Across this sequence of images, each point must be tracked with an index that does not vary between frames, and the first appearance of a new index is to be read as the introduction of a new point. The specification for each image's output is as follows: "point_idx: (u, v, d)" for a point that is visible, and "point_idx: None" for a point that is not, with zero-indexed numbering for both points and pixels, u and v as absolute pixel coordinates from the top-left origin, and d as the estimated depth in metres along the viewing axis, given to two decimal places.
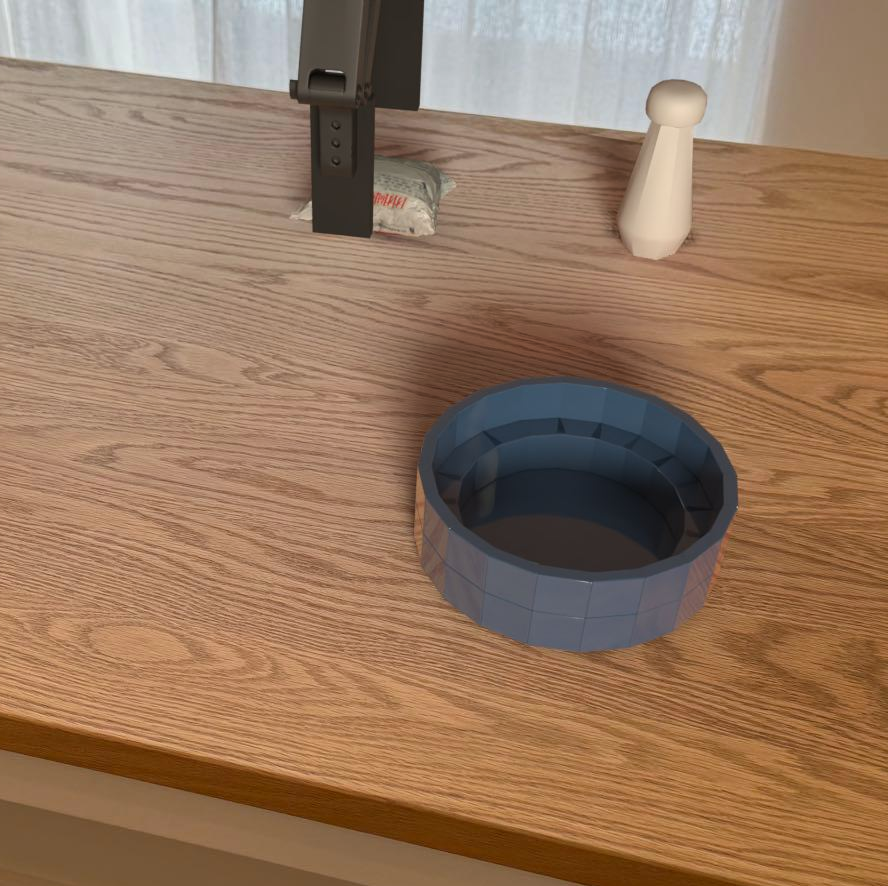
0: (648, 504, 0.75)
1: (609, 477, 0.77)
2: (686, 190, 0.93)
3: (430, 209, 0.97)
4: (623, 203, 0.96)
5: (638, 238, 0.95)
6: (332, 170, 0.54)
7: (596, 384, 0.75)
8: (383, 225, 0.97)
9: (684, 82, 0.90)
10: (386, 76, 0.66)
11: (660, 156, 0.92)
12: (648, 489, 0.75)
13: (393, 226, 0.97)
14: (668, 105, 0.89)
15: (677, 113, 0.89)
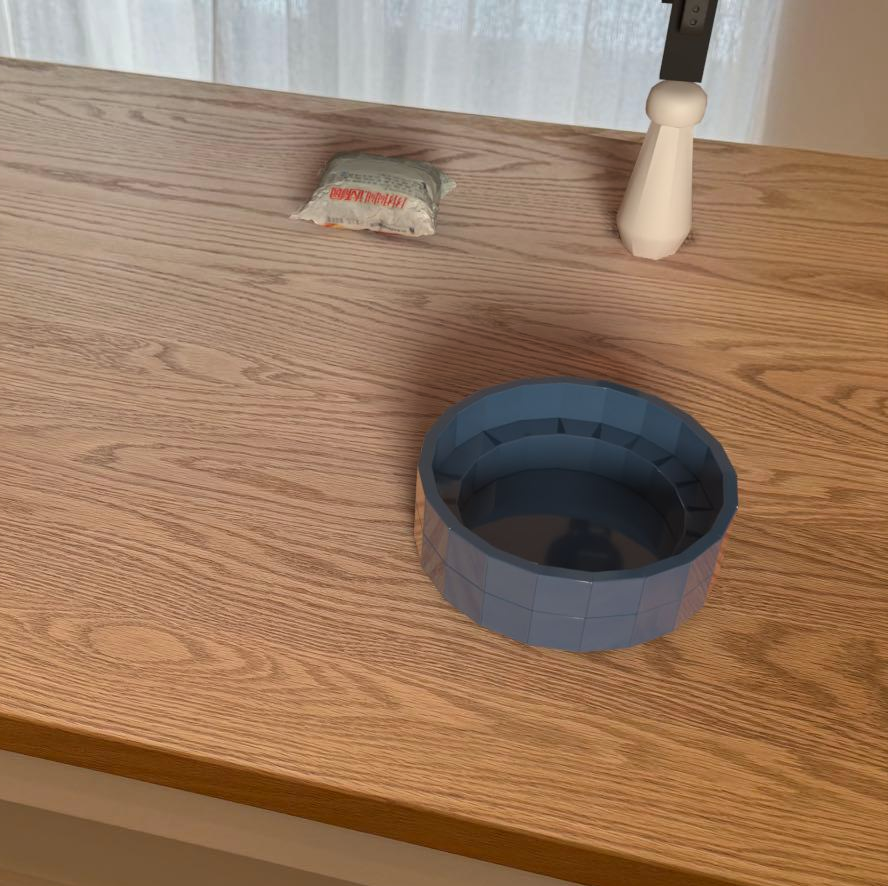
0: (648, 504, 0.75)
1: (609, 477, 0.77)
2: (686, 190, 0.93)
3: (430, 209, 0.97)
4: (623, 203, 0.96)
5: (638, 238, 0.95)
6: (689, 29, 0.78)
7: (596, 384, 0.75)
8: (383, 225, 0.97)
9: (684, 82, 0.90)
10: None
11: (660, 156, 0.92)
12: (648, 489, 0.75)
13: (393, 226, 0.97)
14: (668, 105, 0.89)
15: (677, 113, 0.89)
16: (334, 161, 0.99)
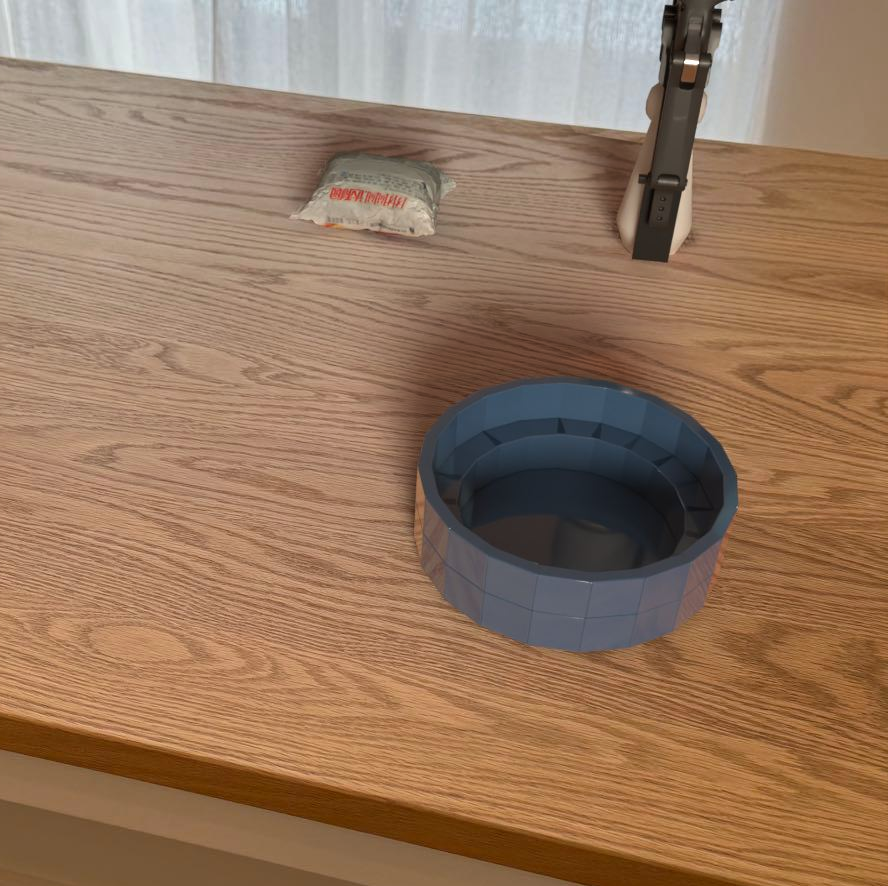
0: (648, 504, 0.75)
1: (609, 477, 0.77)
2: (686, 190, 0.93)
3: (430, 209, 0.97)
4: (623, 203, 0.96)
5: None
6: (655, 223, 0.92)
7: (596, 384, 0.75)
8: (383, 225, 0.97)
9: None
10: None
11: None
12: (648, 489, 0.75)
13: (393, 226, 0.97)
14: None
15: None
16: (334, 161, 0.99)
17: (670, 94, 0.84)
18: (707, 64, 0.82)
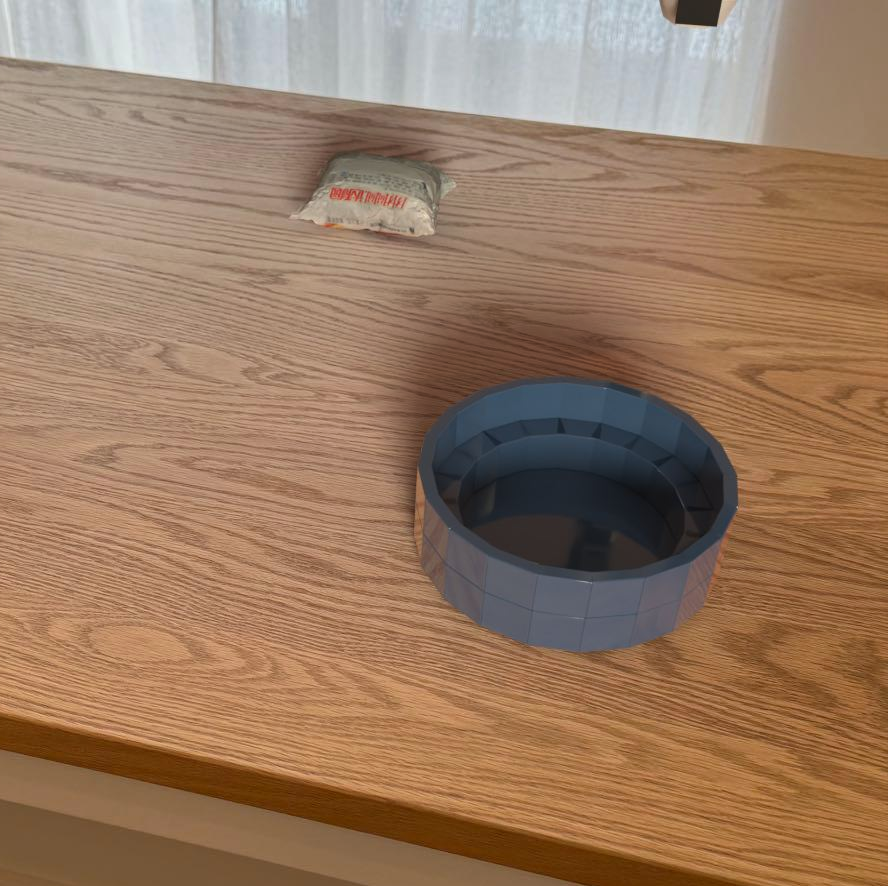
0: (648, 504, 0.75)
1: (609, 477, 0.77)
2: None
3: (430, 209, 0.97)
4: None
5: None
6: None
7: (596, 384, 0.75)
8: (383, 225, 0.97)
9: None
10: None
11: None
12: (648, 489, 0.75)
13: (393, 226, 0.97)
14: None
15: None
16: (334, 161, 0.99)
17: None
18: None
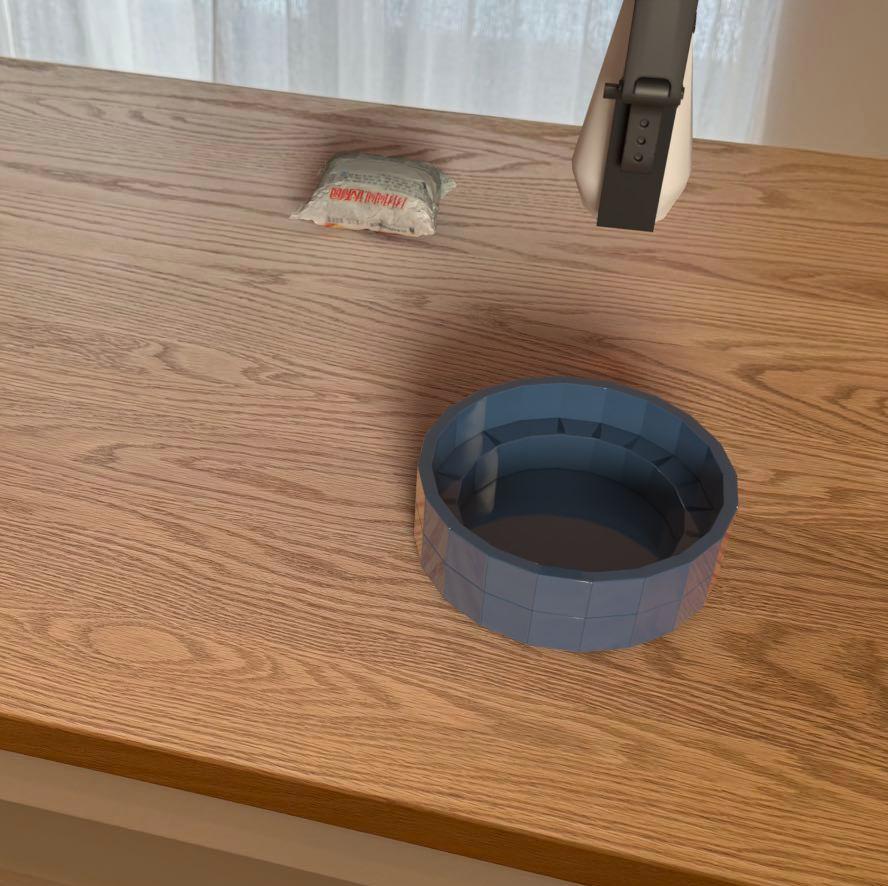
0: (648, 504, 0.75)
1: (609, 477, 0.77)
2: (681, 113, 0.58)
3: (430, 209, 0.97)
4: (582, 137, 0.60)
5: None
6: (633, 166, 0.56)
7: (596, 384, 0.75)
8: (383, 225, 0.97)
9: None
10: None
11: None
12: (648, 489, 0.75)
13: (393, 226, 0.97)
14: None
15: None
16: (334, 161, 0.99)
17: None
18: None
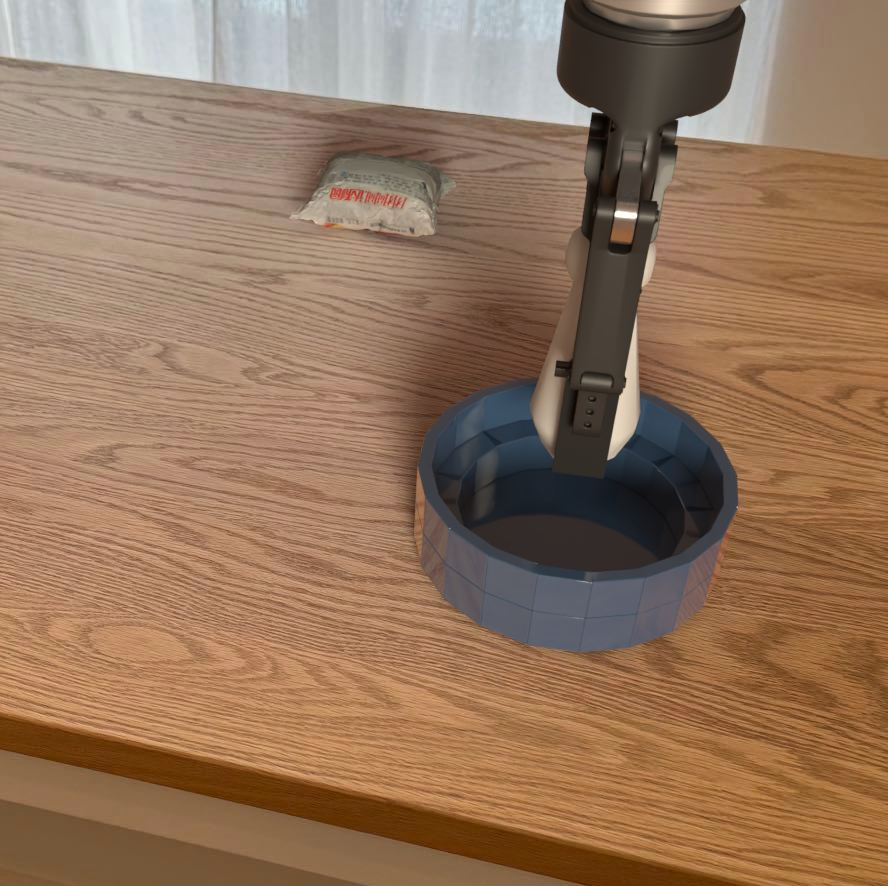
0: (648, 504, 0.75)
1: (609, 477, 0.77)
2: (628, 377, 0.63)
3: (430, 209, 0.97)
4: (538, 389, 0.66)
5: None
6: (583, 431, 0.62)
7: None
8: (383, 225, 0.97)
9: None
10: None
11: None
12: (648, 489, 0.75)
13: (393, 226, 0.97)
14: None
15: None
16: (334, 161, 0.99)
17: (594, 260, 0.54)
18: (650, 219, 0.51)
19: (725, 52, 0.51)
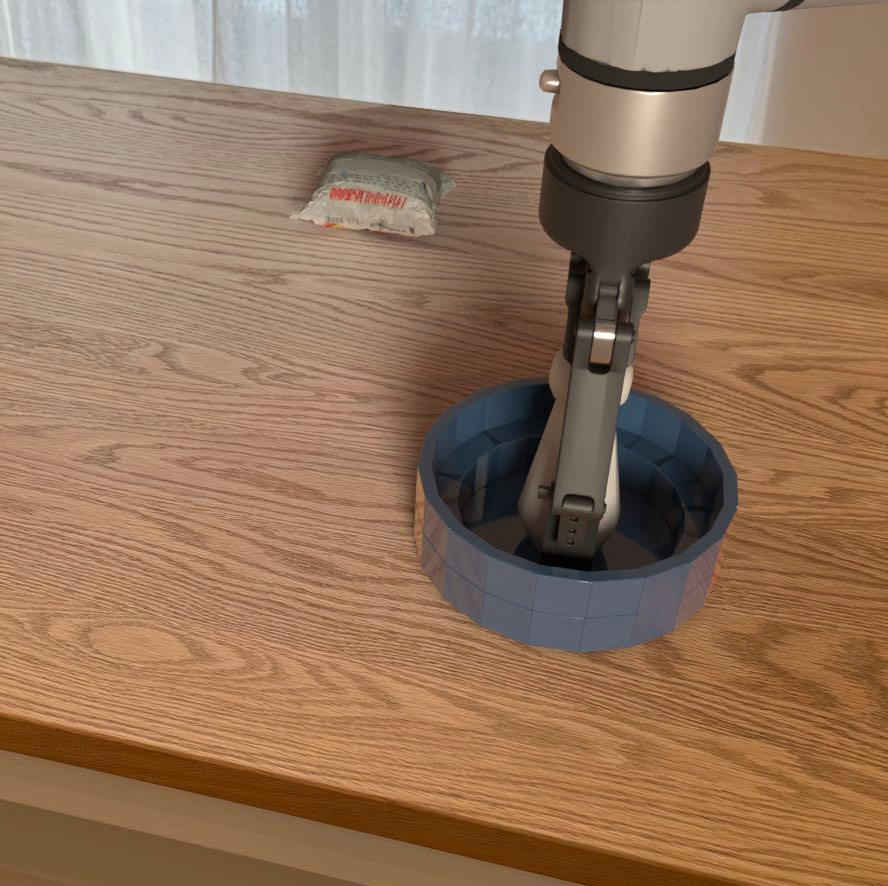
0: (648, 504, 0.75)
1: None
2: (608, 483, 0.68)
3: (430, 209, 0.97)
4: (525, 491, 0.70)
5: None
6: (566, 548, 0.64)
7: None
8: (383, 225, 0.97)
9: None
10: None
11: None
12: (648, 489, 0.75)
13: (393, 226, 0.97)
14: None
15: None
16: (334, 161, 0.99)
17: (575, 380, 0.57)
18: (628, 337, 0.55)
19: (692, 204, 0.55)
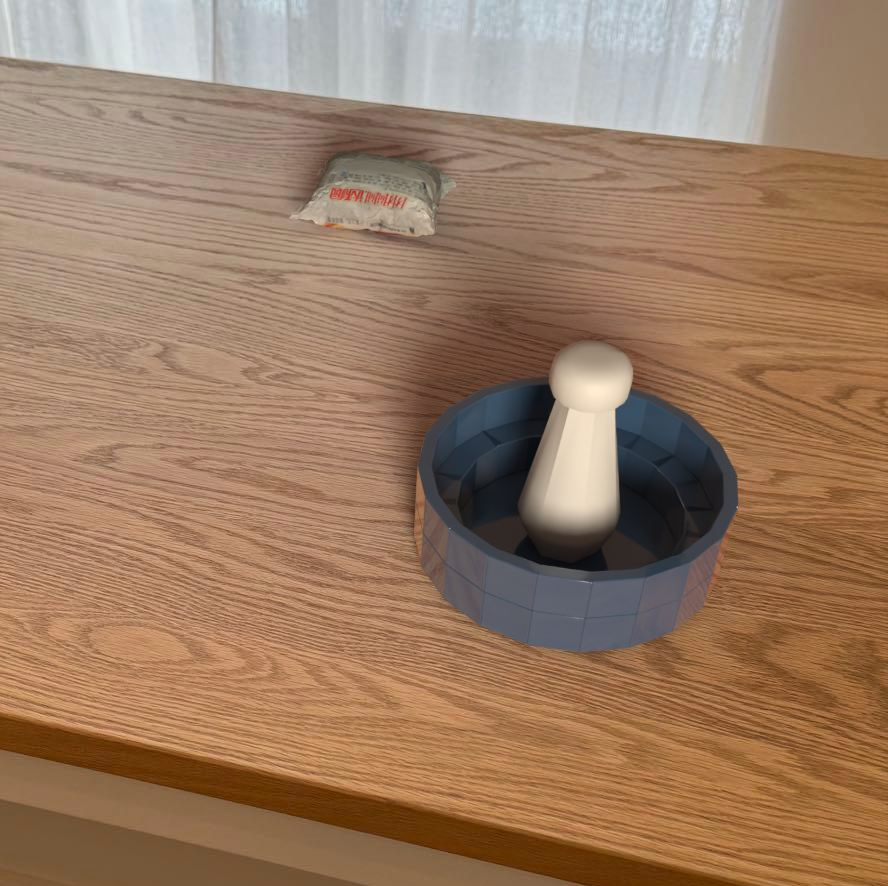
0: (648, 504, 0.75)
1: None
2: (608, 483, 0.68)
3: (430, 209, 0.97)
4: (525, 491, 0.70)
5: (545, 540, 0.70)
6: None
7: None
8: (383, 225, 0.97)
9: (601, 348, 0.65)
10: None
11: (570, 444, 0.66)
12: (648, 489, 0.75)
13: (393, 226, 0.97)
14: (577, 386, 0.63)
15: (591, 397, 0.63)
16: (334, 161, 0.99)
17: None
18: None
19: None
